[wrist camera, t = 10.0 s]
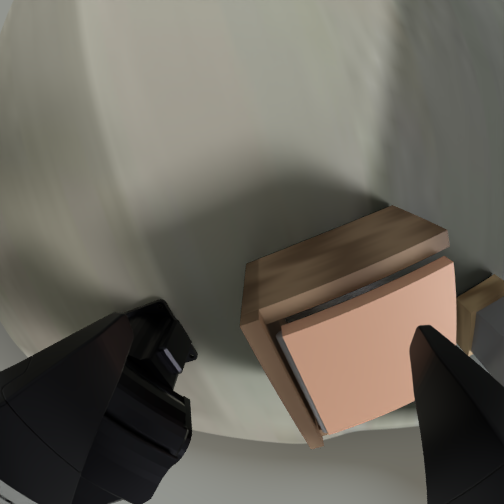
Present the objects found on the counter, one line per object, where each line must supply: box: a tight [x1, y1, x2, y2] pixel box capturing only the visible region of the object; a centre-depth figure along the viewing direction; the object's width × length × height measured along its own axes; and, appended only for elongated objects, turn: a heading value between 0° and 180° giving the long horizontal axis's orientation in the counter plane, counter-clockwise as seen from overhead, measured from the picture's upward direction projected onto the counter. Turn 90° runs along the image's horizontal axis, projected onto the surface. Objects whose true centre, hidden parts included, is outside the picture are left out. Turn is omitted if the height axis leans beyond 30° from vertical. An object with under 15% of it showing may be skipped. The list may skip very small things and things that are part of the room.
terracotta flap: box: [276, 256, 456, 435], centre depth 15 cm, size 10×10×1 cm
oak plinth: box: [456, 275, 504, 356], centre depth 22 cm, size 6×6×3 cm
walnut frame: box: [240, 205, 450, 449], centre depth 19 cm, size 12×13×8 cm
